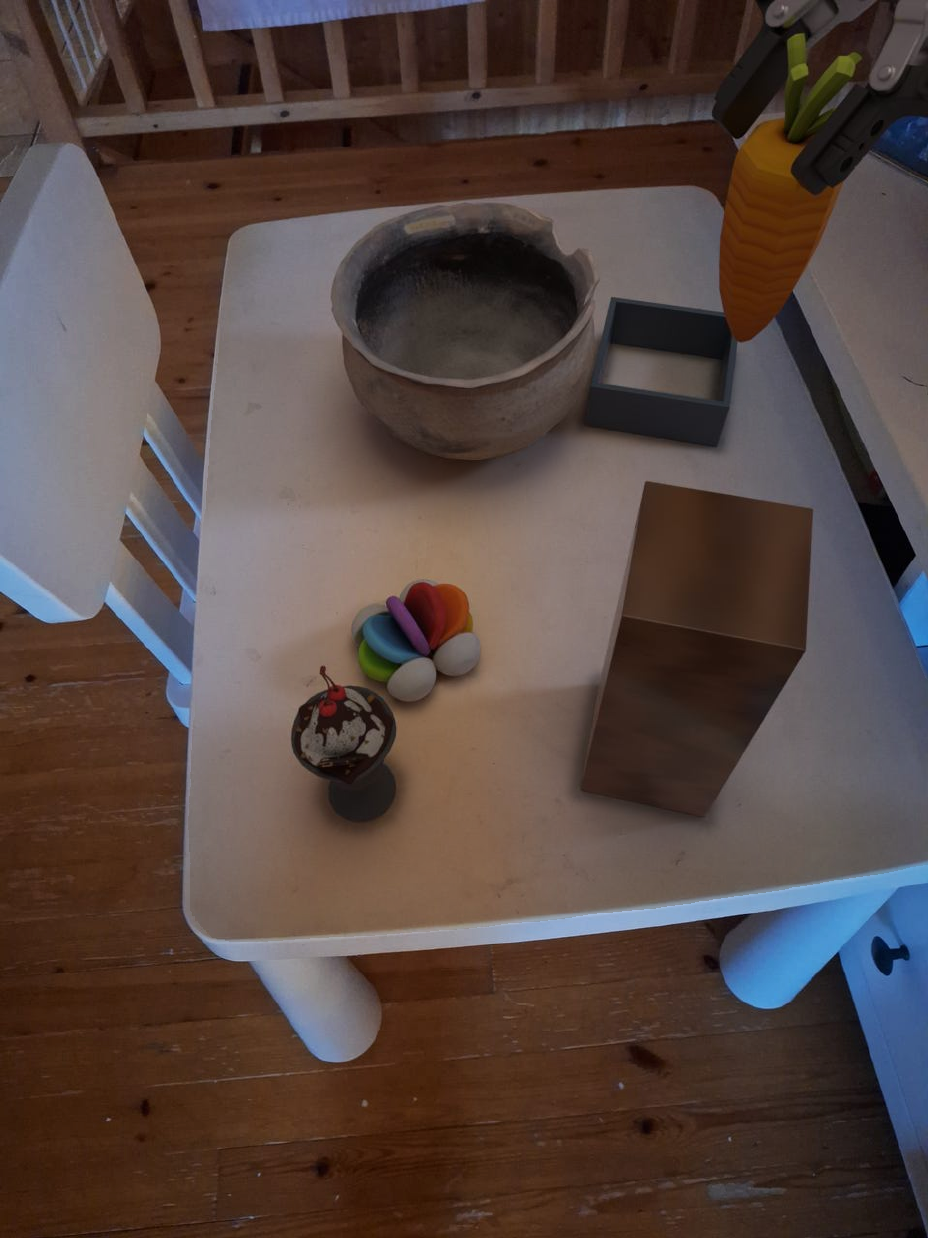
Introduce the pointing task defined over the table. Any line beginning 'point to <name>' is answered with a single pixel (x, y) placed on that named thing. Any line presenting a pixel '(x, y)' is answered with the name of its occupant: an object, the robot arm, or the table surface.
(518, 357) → the ceramic bowl
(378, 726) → the sundae
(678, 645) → the block
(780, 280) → the carrot
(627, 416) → the square storage tray
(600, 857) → the table surface
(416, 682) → the rainbow cloud toy
